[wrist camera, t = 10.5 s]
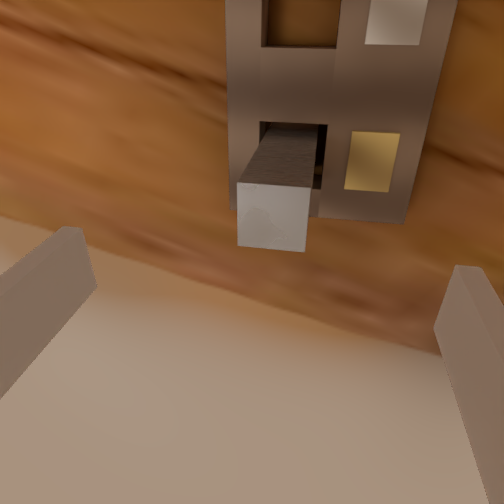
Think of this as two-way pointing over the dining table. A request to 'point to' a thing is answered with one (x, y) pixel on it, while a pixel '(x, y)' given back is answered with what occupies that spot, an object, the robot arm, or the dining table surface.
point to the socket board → (342, 98)
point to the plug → (278, 188)
